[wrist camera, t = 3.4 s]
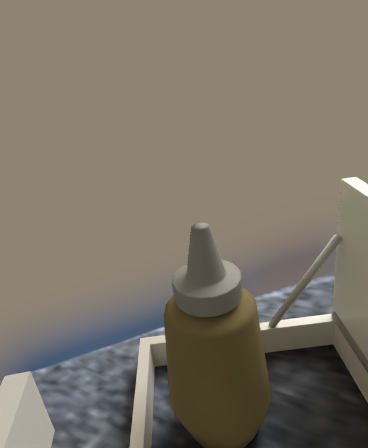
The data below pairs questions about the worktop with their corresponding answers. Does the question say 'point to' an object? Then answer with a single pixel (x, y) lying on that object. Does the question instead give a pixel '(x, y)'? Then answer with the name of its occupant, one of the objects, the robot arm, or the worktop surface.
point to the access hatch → (299, 327)
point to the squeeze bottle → (215, 349)
